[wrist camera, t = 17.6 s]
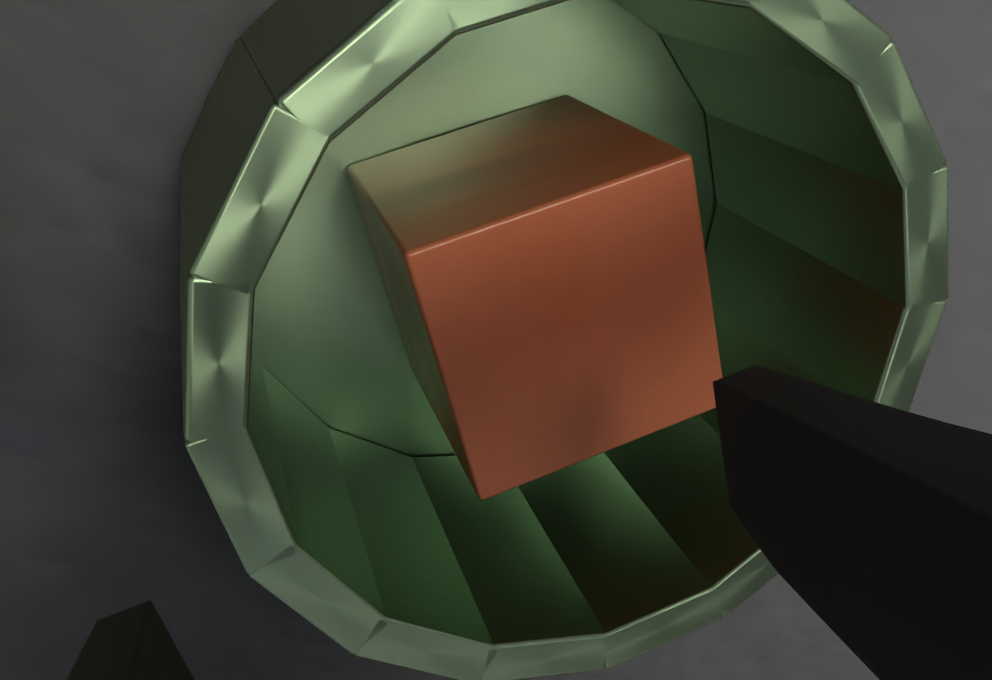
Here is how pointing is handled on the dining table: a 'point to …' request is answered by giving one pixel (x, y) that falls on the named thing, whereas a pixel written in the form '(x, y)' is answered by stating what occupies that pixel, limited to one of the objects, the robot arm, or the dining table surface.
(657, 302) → the block
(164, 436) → the dining table surface
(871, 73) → the tin
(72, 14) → the dining table surface
